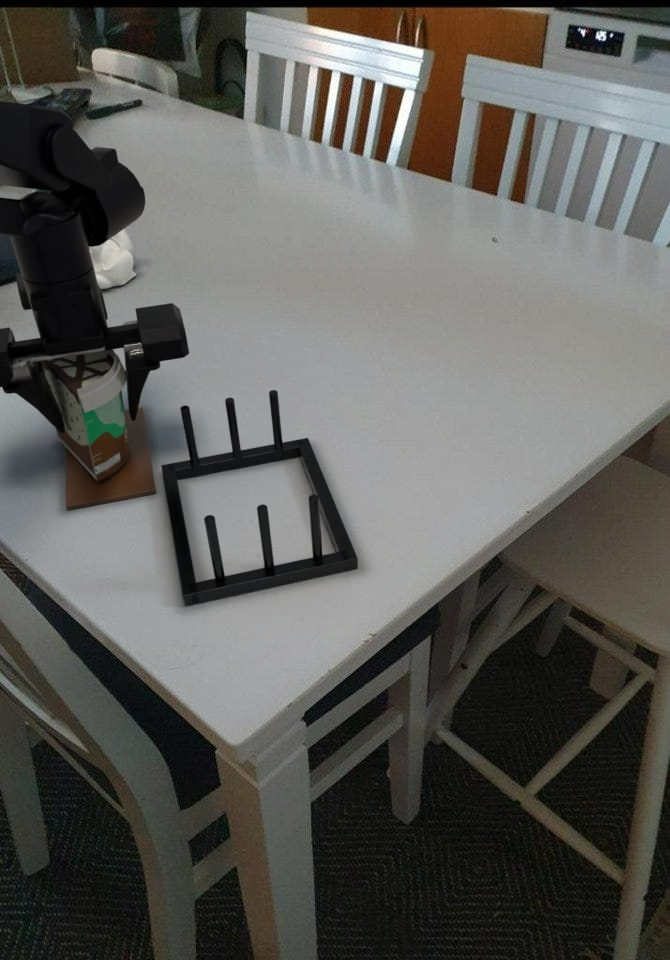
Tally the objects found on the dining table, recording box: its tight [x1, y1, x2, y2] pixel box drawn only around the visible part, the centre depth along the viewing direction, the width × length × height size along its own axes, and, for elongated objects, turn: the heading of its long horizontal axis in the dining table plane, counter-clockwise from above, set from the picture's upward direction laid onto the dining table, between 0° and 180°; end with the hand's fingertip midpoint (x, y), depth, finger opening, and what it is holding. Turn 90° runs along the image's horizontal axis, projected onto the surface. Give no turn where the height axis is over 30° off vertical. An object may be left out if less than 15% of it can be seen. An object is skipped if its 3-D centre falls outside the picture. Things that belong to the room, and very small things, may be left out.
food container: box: [41, 349, 129, 481], centre depth 76 cm, size 12×6×10 cm, turn 37°
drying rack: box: [160, 389, 359, 607], centre depth 69 cm, size 14×17×8 cm
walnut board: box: [64, 407, 157, 511], centre depth 79 cm, size 8×14×1 cm, turn 15°
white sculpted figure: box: [89, 227, 137, 290], centre depth 107 cm, size 12×8×10 cm, turn 167°
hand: (98, 424), depth 76 cm, fingers closed on food container, 6 cm apart
